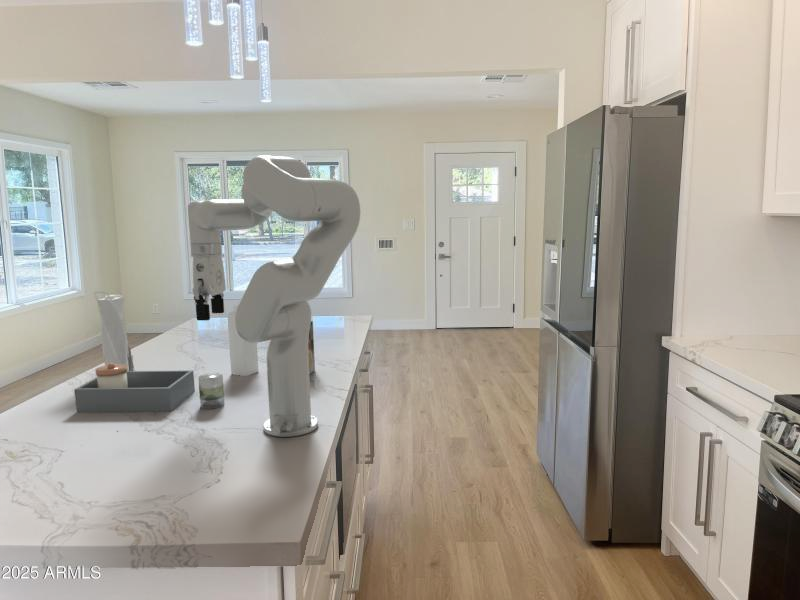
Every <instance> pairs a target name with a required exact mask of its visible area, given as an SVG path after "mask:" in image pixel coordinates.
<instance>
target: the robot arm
mask: <svg viewBox="0 0 800 600" xmlns="http://www.w3.org/2000/svg"><path fill="white" fill-rule="evenodd" d="M242 173H243V174H242V180H243V182H242V185H241V198H242V199H209V200H208V199H207V200H196V201H195V200H194V201H191V202H189V203H188V206H187V217H188V218H187V219H188V231H189V243H190V244H189V245H190V257H191V258H192V283H193V288H192V294H193V299H194V304H195V313H196V320H197V321H209V320H210V319H211V314H210V308H211V313H212V314H223V313H224V314H225V304H224V296H225V295H224V292H225V291H226V288H227V287H226V276H225V268H224V262H223V257H222V256H223V249H222V248H223V247H222V246H223V245H222V232H223V231H239V230H240V231H242V230H243V231H244V230H245V231H246V230H249V229H252V228H255V227H257V226H259V225H261V224H263V223H265V222H267V220H269V218H270V217H271V214H272V212H274V213H275V214H277V215H279V216H280V217H282V218H284V219H287V220H288V221H293V222H319V223H318V224H317V225H316V226H315V227H314V228H313V229H312V230H311V231H310V232H308V233H307V234H306V236H304V239H303V240H302V241H301V244H300V245H299V247H298V250H297V251H296V253H295V254H294V255H293V256H292V257H290V258H287V259H281V260H273V261H269V262H266V263H264V264H262V265H261V266H259V267H258V268H257V270H256V271H255V272H254V273H253V275H252V277H251V279H250V282H249V283H248V285H247V287H246V289H245V290H244V294H243V296H242V297H241V298H240V299H241V300H240V302H239V304H238V305H239V306H238V309H237V312H236V316H235V326H236V330H237V332H238V334H239V336H240V337H241V338H242V339H244V340H245V341H247V342H251V343H257V344H258V343H263V342H267V341H269V343H268V347H267V350H266V375H267V378H266V379H267V391H268V392H267V393H268V408H269V411H268V412H269V414H268V415H269V419H266V421H264V423H263V425H262V427H263V431H264V432H265V433H266V434H267V435H269V436H271V437H272V436H273V437H280V438H289V437H290V438H291V437H292V438H293V437H298V436H302V435H306V434H309V433H311V432H313V431H314V430H316V428H318V425H319V420H318V418H317V417H316V416H314V415H312V407H311V406H312V405H311V385H310V381H311V380H310V375H309V354H308V340H309V330H310V324H311V321H312V309H311V306H310V303H309V301H311V300H314V299H316V298H317V297H318V296H319V295H320V294H321V292H322V290H323V288H324V286H325V285H326V284H327V282H328V280H329V278H330V276H331V274H332V273H333V271H334V269H335V268H336V266H337V264H338V262H339V260H340V258H341V257H342V255H343V253H344V252H345V251H346V249H347V248H348V246H349V244H350V243H351V242H352V240H353V238H354V237H355V235H356V233H357V230H358V228H359V225H360V219H361V204H360V199H359V197H358V195H357V192H356V191H355V189H354V188H353V186H351V185H349V184H348V183H347V182H345V181H341V180H338V179H331V178H312V177H311V176H312V175H311V172H310V170H309V168H308V166H307V165H306V164H305V163H304V162H302V161H301V160H299V159H297V158H294V157H289V156H274V155H257V156H255V157H253V158H251V159H250V160H249V161H248V162H247V164H246V165H245V167H244V169H243V172H242ZM210 296H211V298H210ZM209 299H210V304H211V305H210V304H209ZM210 306H211V307H210Z"/></svg>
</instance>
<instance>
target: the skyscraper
mask: <svg viewBox="0 0 800 600" xmlns="http://www.w3.org/2000/svg"><path fill="white" fill-rule="evenodd" d="M93 294H94V297H95V299H96V303H97V309H98V311H99V316H100V320H101V348H102V356H103V361H104V366H106V365H108V364H109V363H113V364H123V365H126V366H127V371H136V369H135V365H134V355H132V349H131V348H132V346H131V345H130V344H131V343H130V341H129V340H128V335H127V330H126V327H125V324H124V321H123V320H124V311H125V310H124V309H125V308H124V307H125V296H124V295H122V294H118V293H117V294H115V293H113V294H108V293H107V292H105V291H98V290H97V291H94V292H93ZM97 294H102V295H104V298H99V299H98V296H97Z"/></svg>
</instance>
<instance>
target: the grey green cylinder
mask: <svg viewBox="0 0 800 600" xmlns="http://www.w3.org/2000/svg"><path fill="white" fill-rule="evenodd" d="M223 378H224V376H223V373H220V372H209V373H203V374H201V375H199V376H198V390H199V393H198V394H199V402H200V404H199V405H200V408H201V409H202V408H203V410H215V409H220V408H222V407H224V406H225V389H224V379H223Z"/></svg>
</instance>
